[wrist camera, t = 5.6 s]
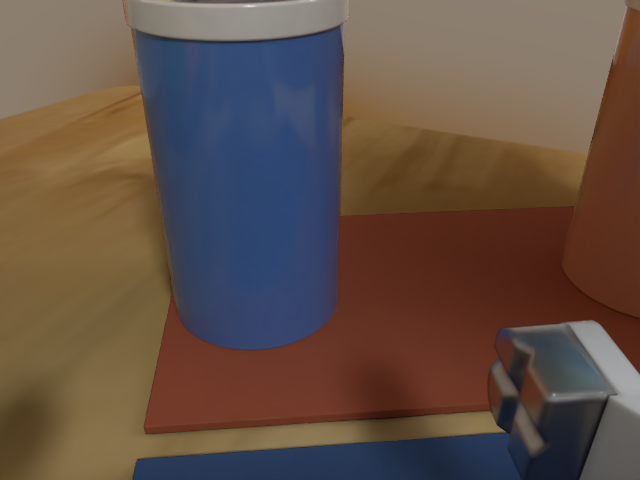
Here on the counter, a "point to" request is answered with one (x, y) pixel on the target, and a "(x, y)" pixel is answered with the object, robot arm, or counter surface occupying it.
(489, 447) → the blue mat
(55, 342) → the counter surface
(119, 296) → the counter surface
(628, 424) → the robot arm
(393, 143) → the counter surface
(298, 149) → the blue canister
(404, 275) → the terracotta mat
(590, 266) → the terracotta canister
